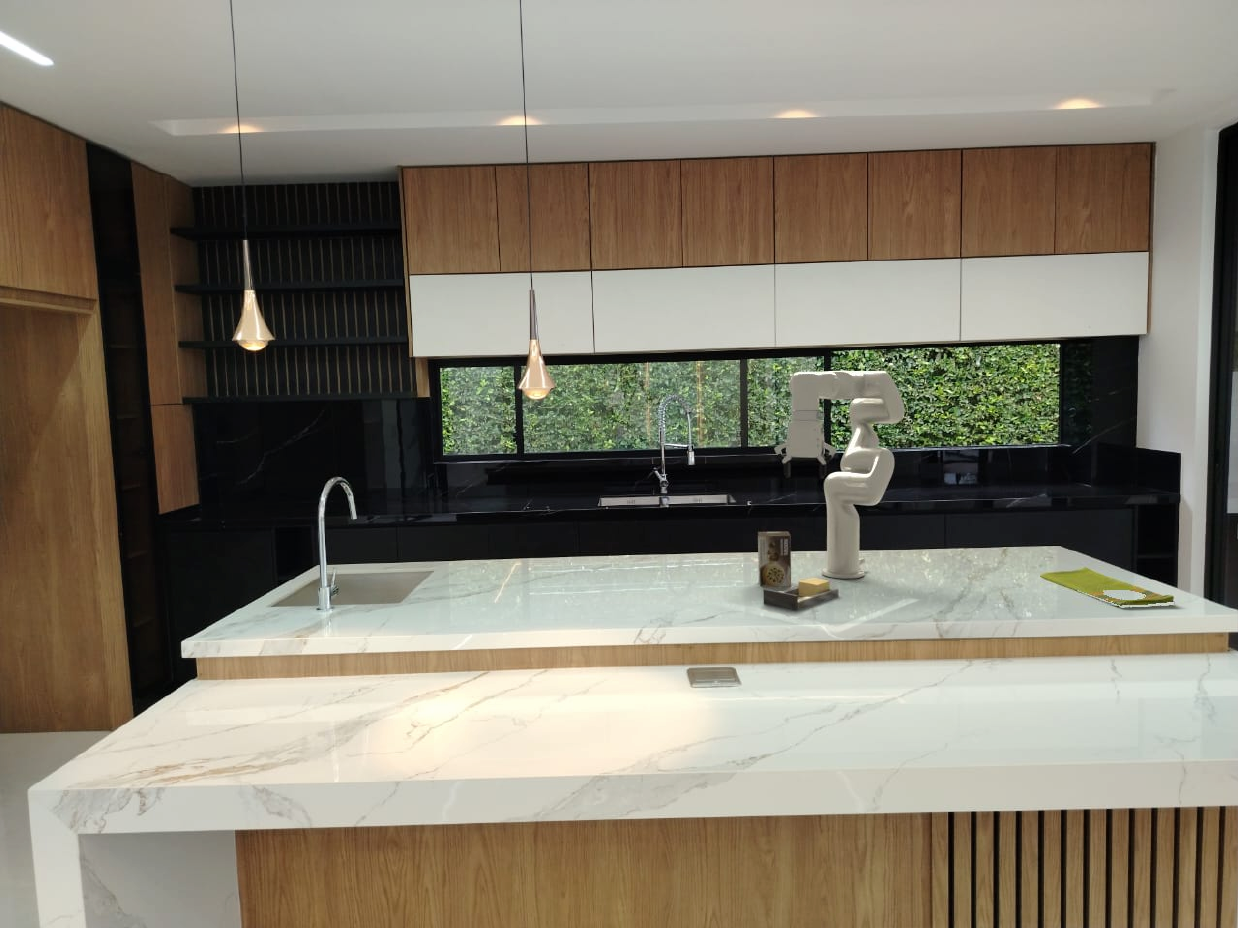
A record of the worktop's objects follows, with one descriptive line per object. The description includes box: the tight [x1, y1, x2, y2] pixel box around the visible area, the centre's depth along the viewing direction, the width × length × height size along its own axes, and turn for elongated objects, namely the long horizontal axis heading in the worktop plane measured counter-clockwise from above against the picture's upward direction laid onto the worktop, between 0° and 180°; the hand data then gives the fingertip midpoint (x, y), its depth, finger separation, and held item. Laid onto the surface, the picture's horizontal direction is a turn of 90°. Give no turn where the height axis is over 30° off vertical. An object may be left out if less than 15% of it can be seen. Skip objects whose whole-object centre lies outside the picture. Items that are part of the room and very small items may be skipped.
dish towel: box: [1039, 566, 1175, 606], centre depth 239 cm, size 15×36×3 cm, turn 6°
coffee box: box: [757, 531, 792, 587], centre depth 249 cm, size 9×6×16 cm
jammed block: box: [797, 577, 831, 598], centre depth 235 cm, size 6×6×4 cm
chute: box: [763, 585, 839, 612], centre depth 231 cm, size 20×14×5 cm
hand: (804, 477), depth 243 cm, fingers open, 9 cm apart
